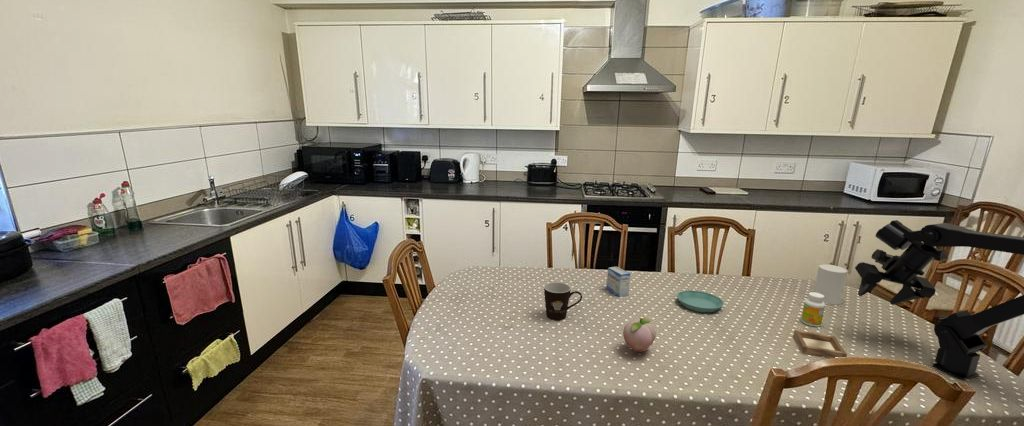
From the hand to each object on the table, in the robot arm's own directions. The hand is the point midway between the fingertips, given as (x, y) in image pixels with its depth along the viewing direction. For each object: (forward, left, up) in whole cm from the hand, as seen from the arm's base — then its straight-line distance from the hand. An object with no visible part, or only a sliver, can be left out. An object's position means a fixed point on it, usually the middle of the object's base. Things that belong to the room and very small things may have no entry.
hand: (875, 299), depth 126 cm
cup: (+22, -11, -11) cm, 27 cm away
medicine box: (+47, +59, -11) cm, 76 cm away
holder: (-2, +23, -11) cm, 25 cm away
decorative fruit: (+10, +74, -11) cm, 75 cm away
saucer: (+30, +37, -12) cm, 48 cm away
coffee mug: (+34, +87, -11) cm, 94 cm away
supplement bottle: (+10, +11, -11) cm, 18 cm away
